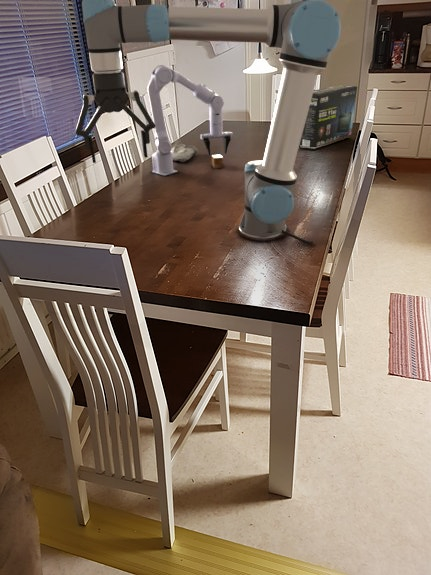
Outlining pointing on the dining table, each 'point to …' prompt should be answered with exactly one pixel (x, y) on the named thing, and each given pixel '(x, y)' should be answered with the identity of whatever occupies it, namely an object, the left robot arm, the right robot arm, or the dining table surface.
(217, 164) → the block
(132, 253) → the dining table surface
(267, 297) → the dining table surface
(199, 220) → the dining table surface
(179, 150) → the fossil
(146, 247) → the dining table surface
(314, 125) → the router box
